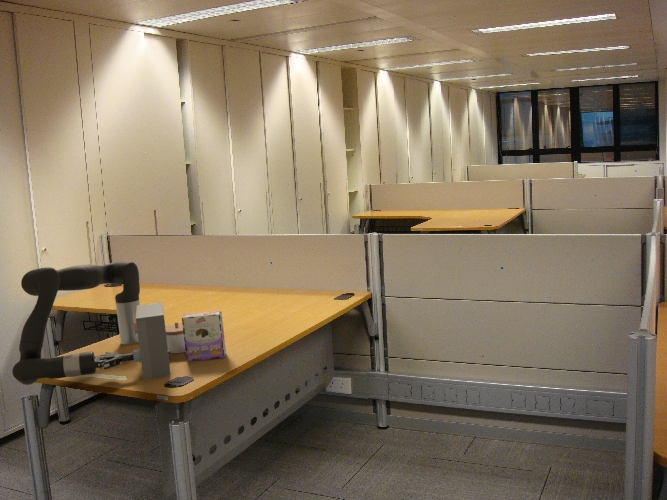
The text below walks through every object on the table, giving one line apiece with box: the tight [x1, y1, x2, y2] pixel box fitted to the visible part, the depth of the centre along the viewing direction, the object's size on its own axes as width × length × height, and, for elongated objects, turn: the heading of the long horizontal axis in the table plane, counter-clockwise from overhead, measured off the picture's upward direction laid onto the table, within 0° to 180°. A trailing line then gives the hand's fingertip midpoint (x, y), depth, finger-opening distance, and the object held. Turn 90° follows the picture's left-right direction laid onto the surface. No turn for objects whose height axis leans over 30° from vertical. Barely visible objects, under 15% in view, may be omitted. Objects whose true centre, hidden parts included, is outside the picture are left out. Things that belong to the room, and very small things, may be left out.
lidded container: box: [165, 321, 186, 354], centre depth 253 cm, size 13×13×11 cm
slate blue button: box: [132, 349, 141, 363], centre depth 225 cm, size 6×4×4 cm, turn 105°
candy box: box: [181, 310, 227, 362], centre depth 240 cm, size 14×6×16 cm, turn 92°
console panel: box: [136, 301, 171, 380], centre depth 232 cm, size 9×22×21 cm, turn 15°
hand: (133, 356), depth 225 cm, fingers closed
